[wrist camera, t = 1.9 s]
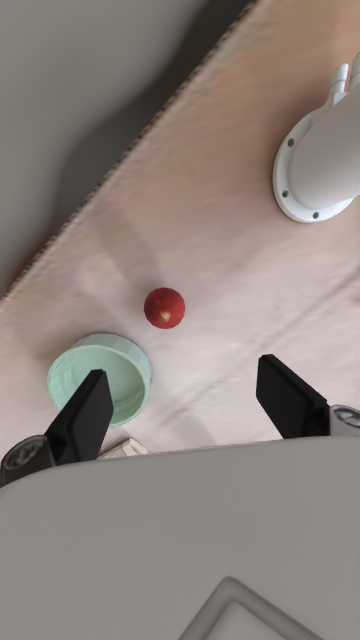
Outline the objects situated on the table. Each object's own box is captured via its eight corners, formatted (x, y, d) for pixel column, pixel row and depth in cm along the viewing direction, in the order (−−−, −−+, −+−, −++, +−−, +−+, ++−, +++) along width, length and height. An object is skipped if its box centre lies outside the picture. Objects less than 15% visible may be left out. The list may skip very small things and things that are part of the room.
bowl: (55, 335, 30) (32, 348, 25) (147, 329, 30) (143, 341, 25) (75, 408, 34) (60, 431, 29) (155, 402, 35) (153, 424, 30)
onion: (145, 317, 29) (136, 335, 22) (149, 282, 28) (141, 289, 20) (180, 321, 30) (183, 341, 22) (186, 287, 28) (191, 296, 21)
